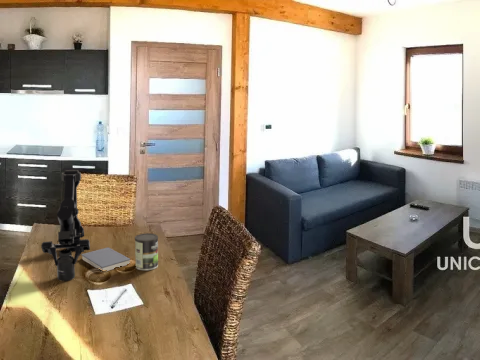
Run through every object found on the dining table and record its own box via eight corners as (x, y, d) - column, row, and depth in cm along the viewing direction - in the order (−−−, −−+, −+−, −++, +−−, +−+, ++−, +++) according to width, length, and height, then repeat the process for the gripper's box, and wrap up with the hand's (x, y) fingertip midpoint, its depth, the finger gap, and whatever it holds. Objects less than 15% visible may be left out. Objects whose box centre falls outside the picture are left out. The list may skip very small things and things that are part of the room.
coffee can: (161, 263, 196) (161, 234, 193) (152, 271, 186) (152, 241, 183) (141, 260, 198) (140, 232, 195) (131, 269, 188) (130, 239, 185)
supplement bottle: (56, 282, 173) (54, 254, 170) (58, 275, 179) (57, 248, 177) (74, 280, 175) (72, 253, 172) (76, 274, 181) (74, 247, 179)
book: (81, 260, 197) (81, 254, 197) (108, 253, 207) (108, 247, 207) (102, 273, 184) (102, 267, 183) (130, 265, 194) (130, 259, 193)
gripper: (40, 223, 173) (37, 258, 165) (88, 221, 178) (87, 255, 170) (44, 235, 182) (42, 269, 174) (90, 232, 187) (89, 265, 179)
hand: (65, 264), depth 174 cm, fingers closed on supplement bottle, 7 cm apart
